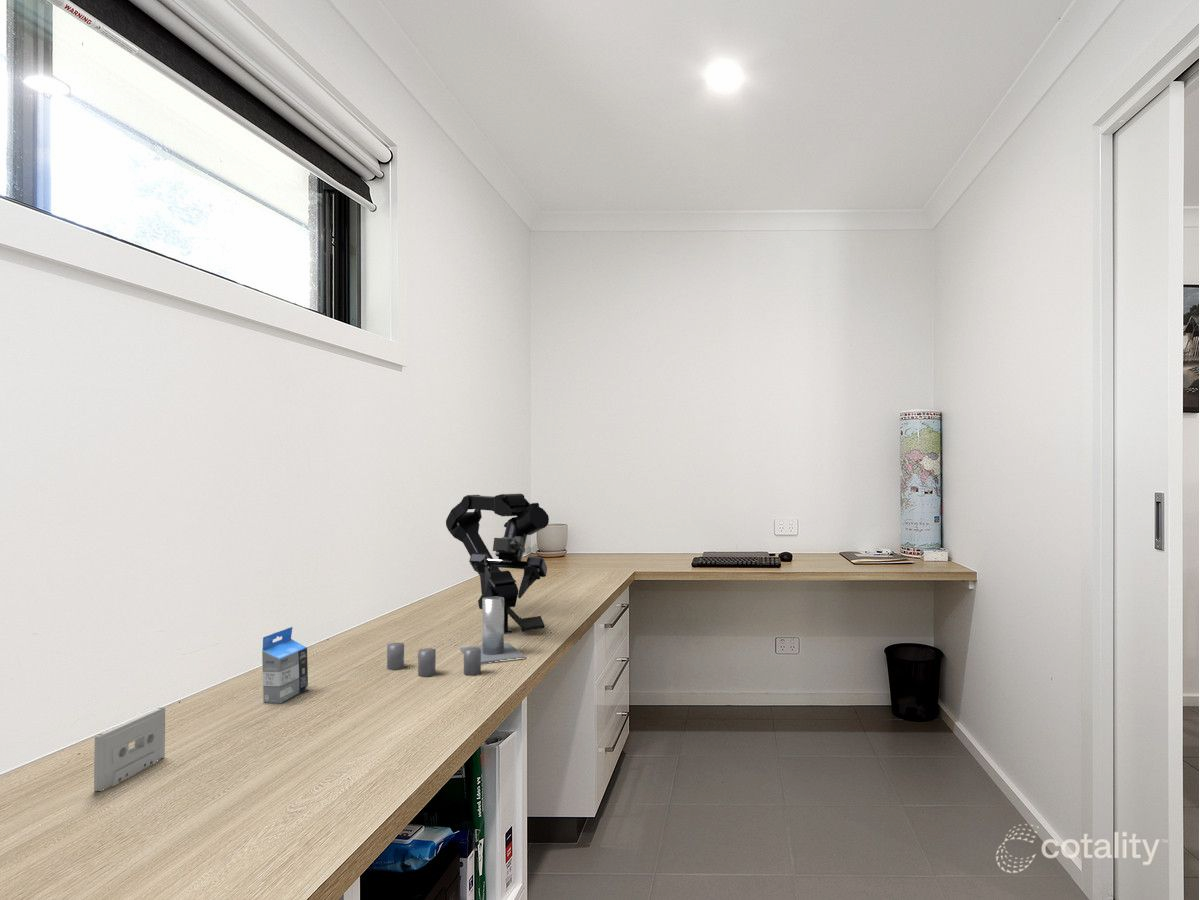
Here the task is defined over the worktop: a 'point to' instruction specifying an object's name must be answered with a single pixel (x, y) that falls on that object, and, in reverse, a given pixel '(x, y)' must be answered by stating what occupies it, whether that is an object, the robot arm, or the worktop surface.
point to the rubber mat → (507, 654)
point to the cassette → (118, 758)
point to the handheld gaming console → (527, 621)
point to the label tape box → (283, 667)
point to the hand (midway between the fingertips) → (500, 596)
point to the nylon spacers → (431, 660)
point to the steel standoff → (492, 625)
